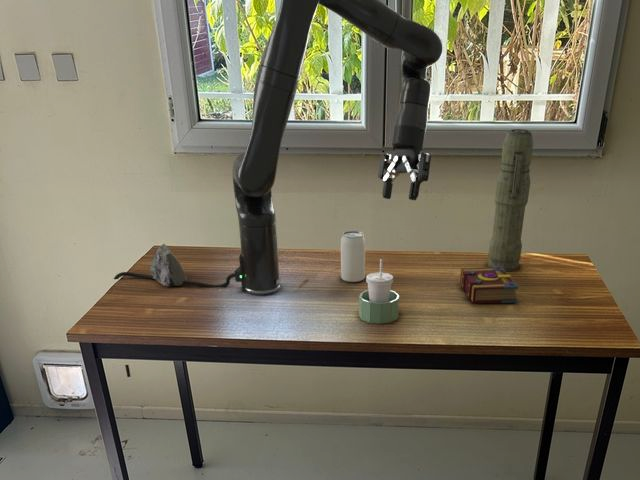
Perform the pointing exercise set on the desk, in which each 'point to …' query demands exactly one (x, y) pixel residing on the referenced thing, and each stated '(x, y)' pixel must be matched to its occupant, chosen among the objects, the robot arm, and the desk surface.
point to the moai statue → (511, 200)
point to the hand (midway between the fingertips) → (399, 199)
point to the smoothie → (379, 286)
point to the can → (352, 256)
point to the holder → (378, 308)
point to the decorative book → (488, 285)
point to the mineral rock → (167, 268)
